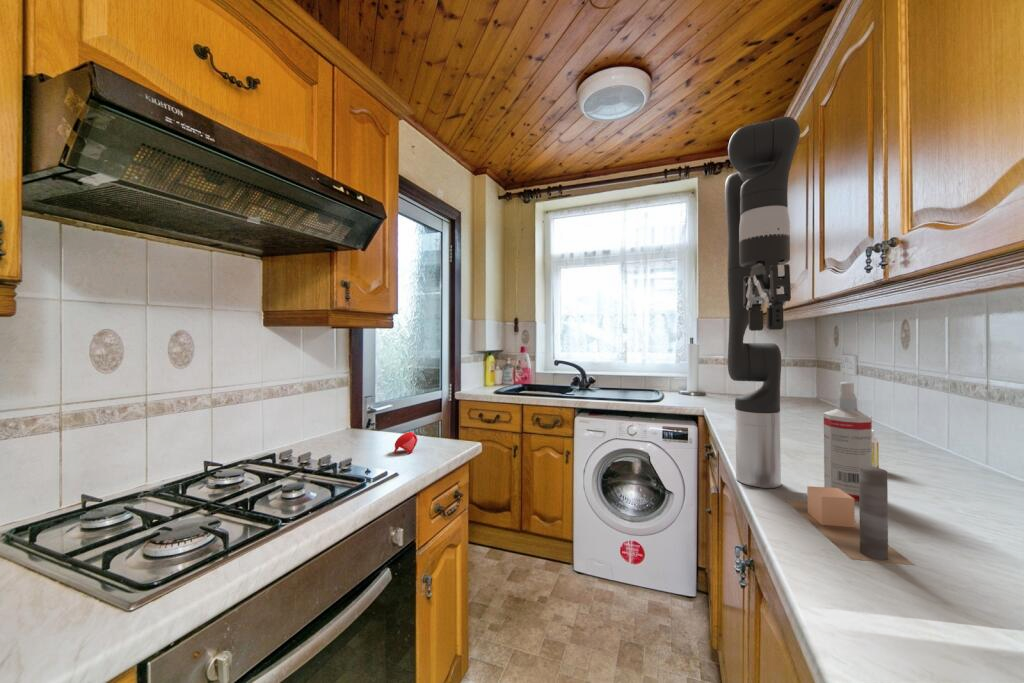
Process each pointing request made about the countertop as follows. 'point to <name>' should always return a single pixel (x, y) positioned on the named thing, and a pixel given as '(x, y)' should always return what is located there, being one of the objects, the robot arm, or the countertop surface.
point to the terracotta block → (831, 506)
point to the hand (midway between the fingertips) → (764, 330)
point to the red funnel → (406, 442)
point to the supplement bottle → (875, 451)
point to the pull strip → (846, 537)
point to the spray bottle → (846, 443)
